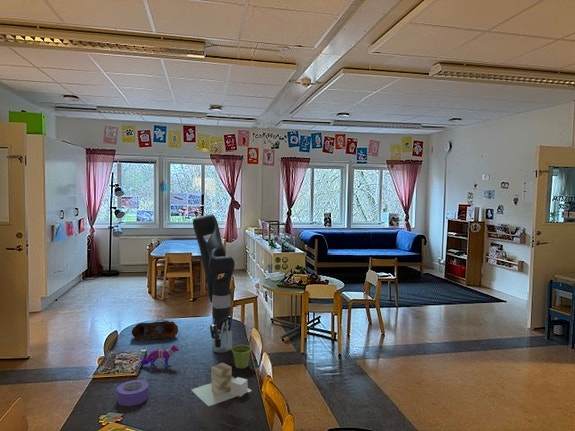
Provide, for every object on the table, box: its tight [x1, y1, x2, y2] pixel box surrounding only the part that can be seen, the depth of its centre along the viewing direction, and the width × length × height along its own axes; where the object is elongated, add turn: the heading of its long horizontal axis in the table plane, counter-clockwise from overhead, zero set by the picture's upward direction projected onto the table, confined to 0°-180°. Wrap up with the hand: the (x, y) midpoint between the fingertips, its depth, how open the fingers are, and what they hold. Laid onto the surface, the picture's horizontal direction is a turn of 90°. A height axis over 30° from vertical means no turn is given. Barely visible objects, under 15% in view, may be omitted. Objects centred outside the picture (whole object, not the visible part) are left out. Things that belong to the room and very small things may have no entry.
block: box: [231, 376, 249, 398], centre depth 169 cm, size 5×5×5 cm
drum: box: [216, 330, 227, 348], centre depth 169 cm, size 5×5×6 cm
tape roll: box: [116, 379, 150, 407], centre depth 164 cm, size 12×12×5 cm
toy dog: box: [140, 344, 180, 368], centre depth 193 cm, size 4×18×10 cm, turn 97°
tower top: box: [210, 362, 233, 384], centre depth 170 cm, size 6×6×5 cm
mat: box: [190, 375, 252, 407], centre depth 171 cm, size 20×16×1 cm
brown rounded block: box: [131, 320, 179, 342], centre depth 234 cm, size 25×13×17 cm
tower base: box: [211, 379, 231, 395], centre depth 171 cm, size 6×6×5 cm
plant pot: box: [230, 344, 252, 369], centre depth 194 cm, size 9×9×9 cm
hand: (221, 344), depth 169 cm, fingers closed on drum, 4 cm apart
